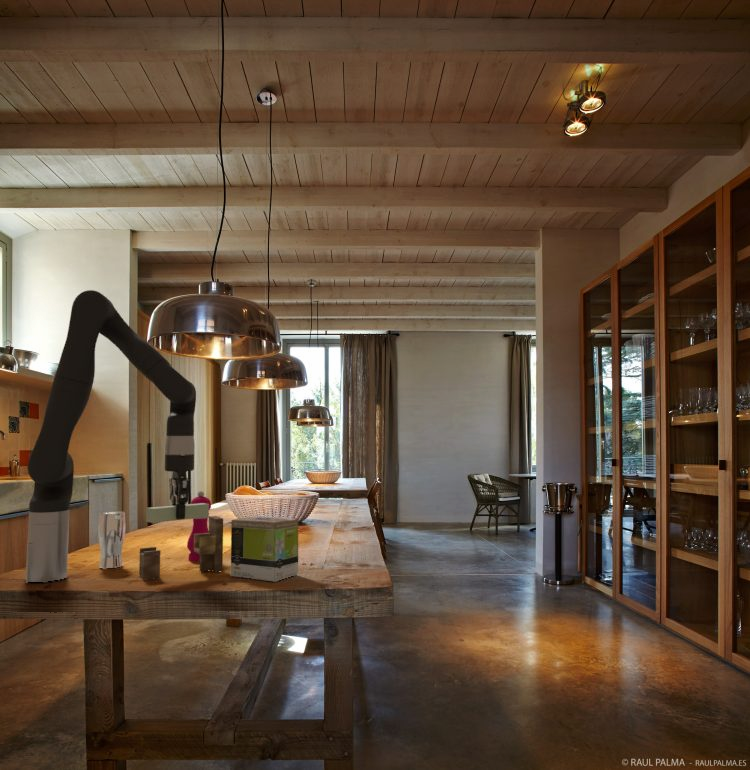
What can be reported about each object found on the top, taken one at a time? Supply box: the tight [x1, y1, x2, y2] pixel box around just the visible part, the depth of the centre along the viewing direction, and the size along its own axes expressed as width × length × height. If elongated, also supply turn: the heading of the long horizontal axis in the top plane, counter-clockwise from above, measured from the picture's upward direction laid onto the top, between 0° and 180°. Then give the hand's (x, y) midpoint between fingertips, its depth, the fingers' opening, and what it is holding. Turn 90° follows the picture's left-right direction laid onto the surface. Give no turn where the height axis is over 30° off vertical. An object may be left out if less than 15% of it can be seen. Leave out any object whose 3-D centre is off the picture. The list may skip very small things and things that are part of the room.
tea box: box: [230, 515, 299, 583], centre depth 159 cm, size 15×10×15 cm
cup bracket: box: [194, 515, 224, 573], centre depth 166 cm, size 6×7×14 cm
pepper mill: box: [186, 490, 212, 562], centre depth 182 cm, size 7×7×20 cm
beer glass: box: [97, 510, 127, 570], centre depth 171 cm, size 7×7×15 cm
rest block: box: [138, 546, 162, 581], centre depth 158 cm, size 4×7×7 cm, turn 30°
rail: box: [145, 503, 210, 524], centre depth 163 cm, size 16×4×4 cm, turn 136°
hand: (178, 517), depth 162 cm, fingers closed on rail, 4 cm apart
